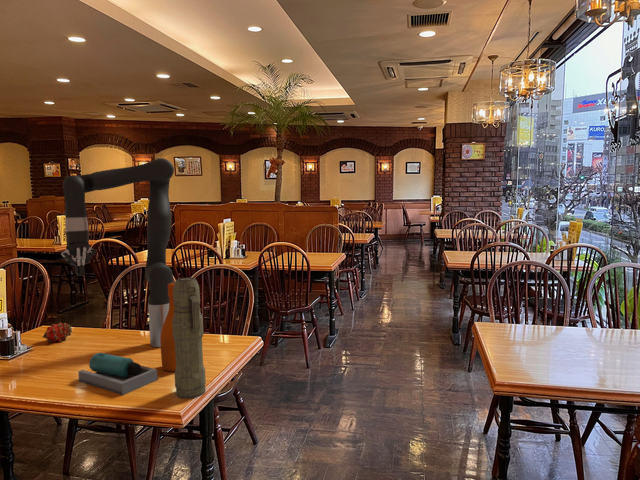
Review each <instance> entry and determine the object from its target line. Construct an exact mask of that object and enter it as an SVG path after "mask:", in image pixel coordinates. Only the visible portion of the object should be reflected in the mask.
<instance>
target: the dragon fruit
mask: <svg viewBox="0 0 640 480" xmlns="http://www.w3.org/2000/svg"><path fill="white" fill-rule="evenodd" d="M72 329H73V328H72V325H70V324H69V323H68V322H67V323H66V322H64V323H62V322H61V321H59V322H58V323H56V324H55V323H52V324H51V325H50V326H48V327H47V328H46V331H45V332H44V334H43V336H42V338H43V339H46V340H45V341H46V342H48V343H56V342H57V341H58V342H59V343H60V342H62V341H64V340H66V339H67V338H68V337H70V336H71V335H72V334H71V333H73V330H72Z"/></svg>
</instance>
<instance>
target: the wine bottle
mask: <svg viewBox="0 0 640 480" xmlns="http://www.w3.org/2000/svg"><path fill="white" fill-rule="evenodd" d="M174 284H175V282H173V283H170V284H168V296H169V310H168V314H167V317H166V319H165V322H164V324H163V327H162V331H161V336H160V344H161V347H160V356H161V357H160V358H161V367H162V368H163V370H165V371H166V372H175V371H176V354H175V340H174V338H173V326H172V320H173V316H174V310H175V308H174V301H173V288H174Z"/></svg>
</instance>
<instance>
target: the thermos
mask: <svg viewBox="0 0 640 480" xmlns="http://www.w3.org/2000/svg"><path fill="white" fill-rule="evenodd" d="M174 283H175V284H174V288H173V301H174V308H175V310H174V316H173V320H172V326H173V338H174V340H175V354H176V371H174V387H175V396H176V397H177V398H179V399H186V400H187V399H188V400H189V399H195V398H199V397H200V396H201V397H202V396H203V395H204V394H205V393H206V384H207V383H206V382H207V381H206V380H207V379H206V369H205V366H204V358H203V357H204V355H203V354H204V353H203V337H204V318H203V314H202V313H201V307H200V305H201V296H200V295H201V294H200V293H201V292H200V285H199V283H198V280H197V279H196V278H194V277H191V276H190V277H180V278H177V279H175V280H174Z"/></svg>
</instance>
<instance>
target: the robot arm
mask: <svg viewBox="0 0 640 480" xmlns="http://www.w3.org/2000/svg"><path fill="white" fill-rule="evenodd" d="M174 173H175V167H174V164H173V163H172V162H171V161H170V160H168V159H166V158H162V157H160V158H159V157H158V158H156V159H154V160H151V161H149V162H145V163H143V164H138V165H133V166H127V167H120V168H111V169H105V170H100V171H94V172H92V173H88V174H87V173H86V174H81V175H75V174H73V175H72V174H71V175H68V176H66V177H65V178H64V180H63V182H62V188H63V189H62V190H63V197H64V203H65V204H64V215H65V220H64V221H65V223H64V224H65V225H64V226H65V240H66V241H65V242H66V247H65V250H63V251H61V252H60V256H61V257H62V258H63V259H64V260H65V262H67V263H68V265H71V266H74V273H75V275H76V276H79V277H81V276H84V275H85V271H86V269H85V265H86V264H89V263H90V262H91V259H92V258H93V257H94V255H95V253H96V252H97V251H96V249H94V248H92V247H91V245H90V243H89V242H90V236H89V235H90V234H89V222H88V215H87V214H88V213H87V205H86V193H87V194H88V193H91V192H94V191H105V190H110V189H114V188H119V187H120V188H121V187H123V186H127V185H131V184H134V183H135V184H136V183H141V182H148V184H149V185H148V186H149V197H148V205H147V215H146V219H147V220H146V222H147V223H146V231H147V233H146V241H147V244H146V245H147V254H146V263H145V270H144V277H145V279H146V281H147V282H148V283H149V296H148V297H147V304H148V305H147V306H148V320H149V322H148V323H149V325H148V326H149V343H150V344H149V345H150V346H151V347H153V348H161V344H160V336H161V331H162V327H163V324H164V322H165V319H166V317H167V314H168V310H169V296H168V284H170V283H174V275H173V269H171V267H170V266H169V265H167V257H166V254H167V246H168V245H169V244H168V243H169V241H170V238H171V237H170V236H171V232H172V231H171V230H172V209H171V203H170V202H171V201H170V197H169V192H170V191H169V190H170V181H171V178H173V175H174Z"/></svg>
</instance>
